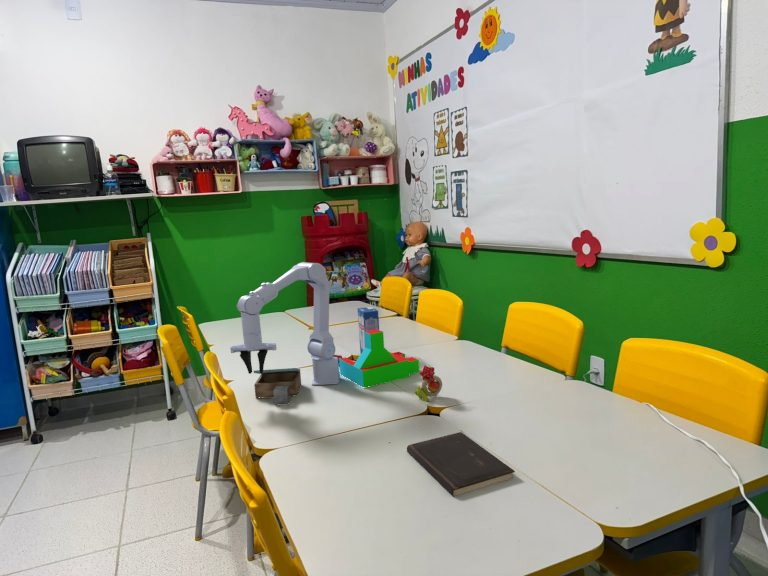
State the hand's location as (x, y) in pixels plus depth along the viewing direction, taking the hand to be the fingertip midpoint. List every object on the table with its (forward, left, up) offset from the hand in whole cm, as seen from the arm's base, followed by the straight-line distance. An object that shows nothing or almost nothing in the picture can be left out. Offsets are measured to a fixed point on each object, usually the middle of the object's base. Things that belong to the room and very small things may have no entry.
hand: (256, 372), depth 168 cm
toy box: (-5, -10, -10) cm, 15 cm away
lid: (-5, -10, -4) cm, 12 cm away
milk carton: (-37, -46, -11) cm, 60 cm away
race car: (-20, -37, -11) cm, 43 cm away
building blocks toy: (-41, -22, -11) cm, 48 cm away
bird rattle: (-56, +6, -11) cm, 57 cm away
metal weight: (-8, +1, -10) cm, 13 cm away
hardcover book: (-58, +49, -11) cm, 77 cm away
